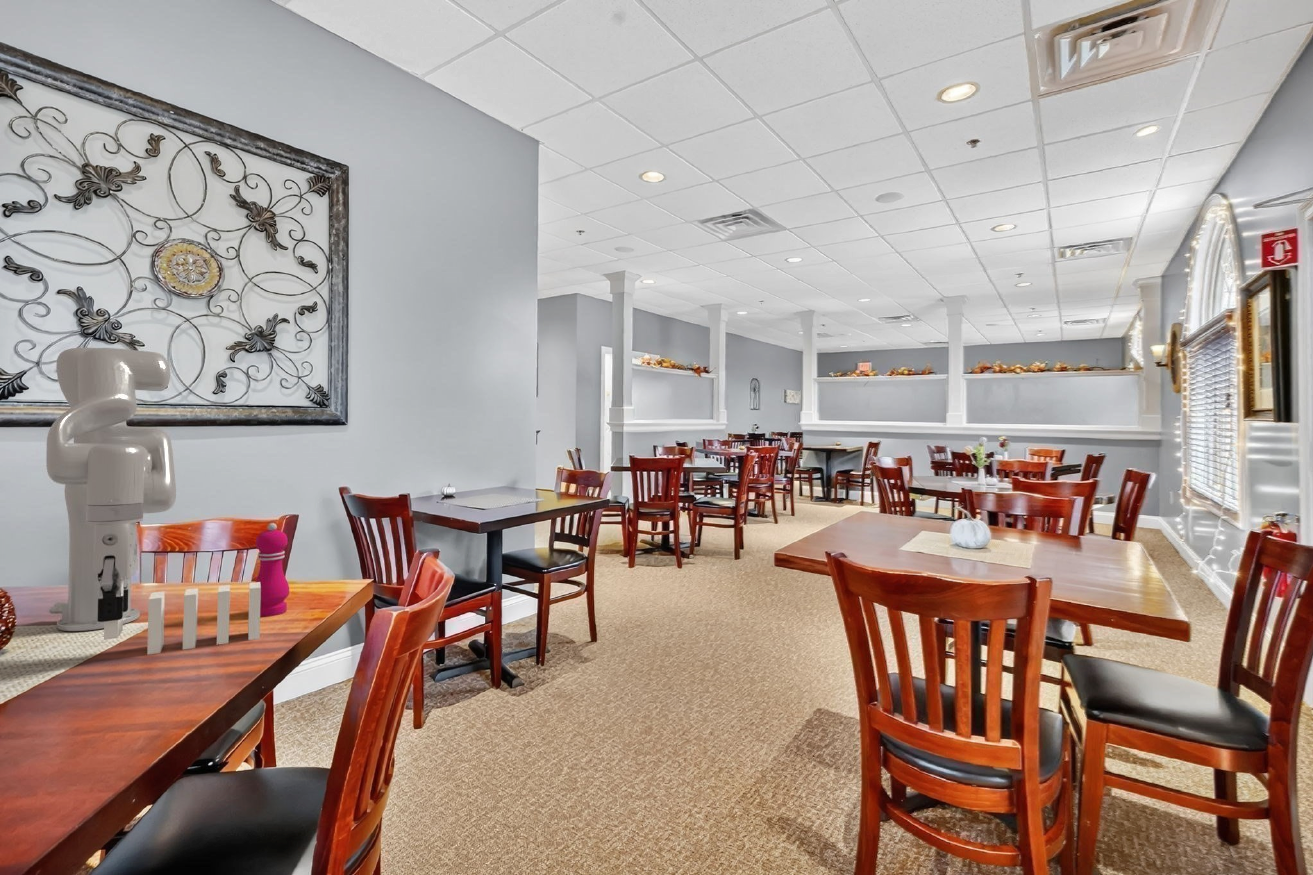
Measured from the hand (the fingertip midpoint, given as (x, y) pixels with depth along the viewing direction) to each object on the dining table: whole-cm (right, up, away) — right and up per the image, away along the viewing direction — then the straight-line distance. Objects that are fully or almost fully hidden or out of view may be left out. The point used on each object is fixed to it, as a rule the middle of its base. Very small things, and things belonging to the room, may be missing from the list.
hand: (113, 615), depth 106 cm
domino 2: (+8, -8, +7) cm, 13 cm away
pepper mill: (+10, -8, +27) cm, 30 cm away
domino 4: (+17, -8, +12) cm, 22 cm away
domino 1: (+4, -7, +4) cm, 9 cm away
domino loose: (0, -4, 0) cm, 4 cm away
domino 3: (+13, -8, +10) cm, 18 cm away
